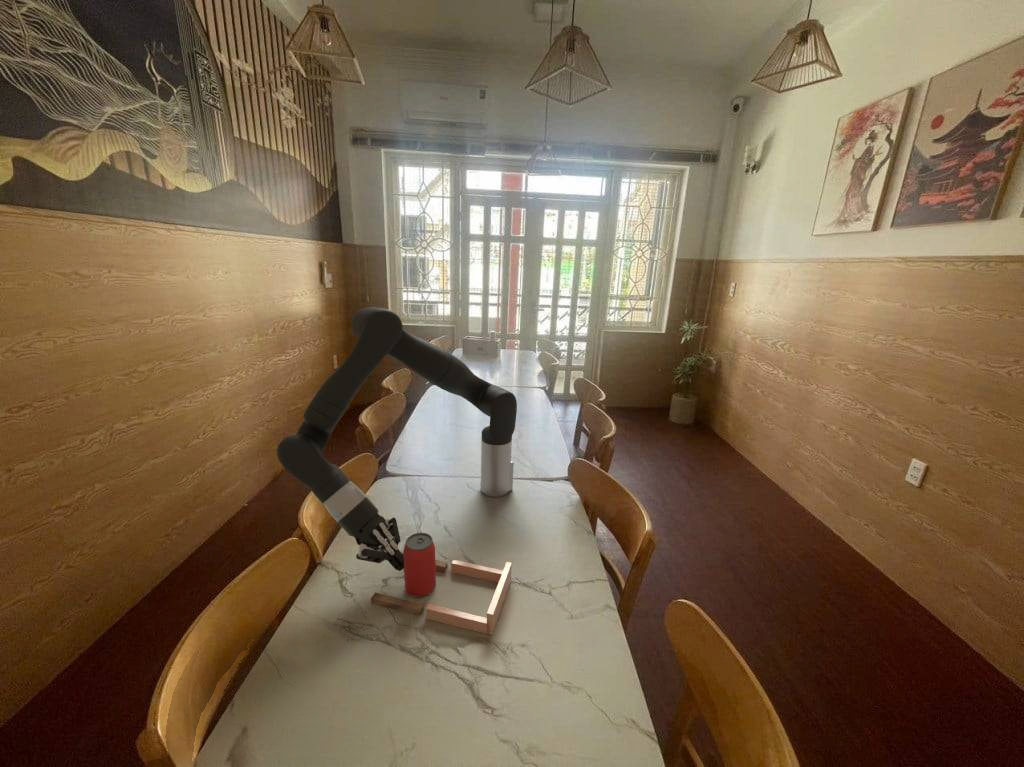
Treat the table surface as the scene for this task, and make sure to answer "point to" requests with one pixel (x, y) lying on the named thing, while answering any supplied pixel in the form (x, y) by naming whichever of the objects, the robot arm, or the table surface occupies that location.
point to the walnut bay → (401, 603)
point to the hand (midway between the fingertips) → (404, 566)
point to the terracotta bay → (494, 609)
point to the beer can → (419, 565)
